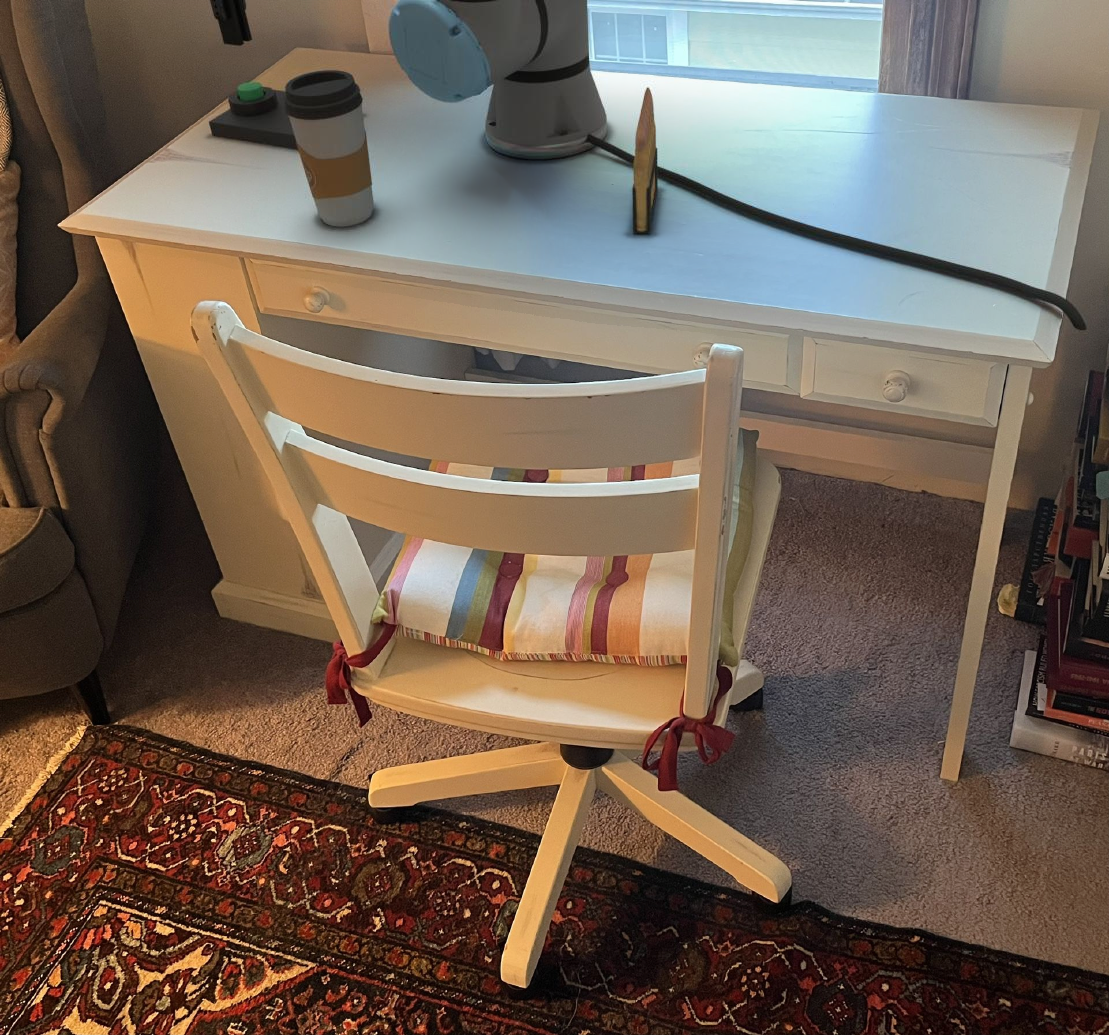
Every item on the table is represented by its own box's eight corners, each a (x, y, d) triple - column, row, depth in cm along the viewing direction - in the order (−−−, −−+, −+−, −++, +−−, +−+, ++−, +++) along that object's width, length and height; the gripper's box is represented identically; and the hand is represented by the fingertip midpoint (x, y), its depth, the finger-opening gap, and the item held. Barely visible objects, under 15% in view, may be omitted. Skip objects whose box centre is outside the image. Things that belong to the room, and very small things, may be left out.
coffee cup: (302, 209, 126) (271, 79, 116) (370, 191, 129) (345, 62, 119) (322, 238, 121) (291, 104, 111) (393, 219, 123) (369, 86, 113)
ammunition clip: (650, 234, 116) (649, 124, 108) (632, 234, 117) (630, 124, 109) (657, 189, 124) (657, 83, 116) (641, 189, 124) (639, 84, 116)
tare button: (269, 94, 146) (266, 83, 145) (254, 103, 144) (251, 92, 143) (250, 92, 147) (247, 80, 146) (235, 100, 145) (232, 89, 144)
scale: (362, 115, 146) (357, 89, 144) (309, 151, 139) (303, 124, 136) (267, 101, 152) (261, 76, 150) (211, 135, 145) (204, 109, 142)
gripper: (199, -184, 130) (249, 21, 146) (117, -158, 121) (179, 57, 137) (248, -183, 128) (294, 26, 143) (167, -157, 119) (225, 63, 134)
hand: (238, 41), depth 140 cm, fingers closed
